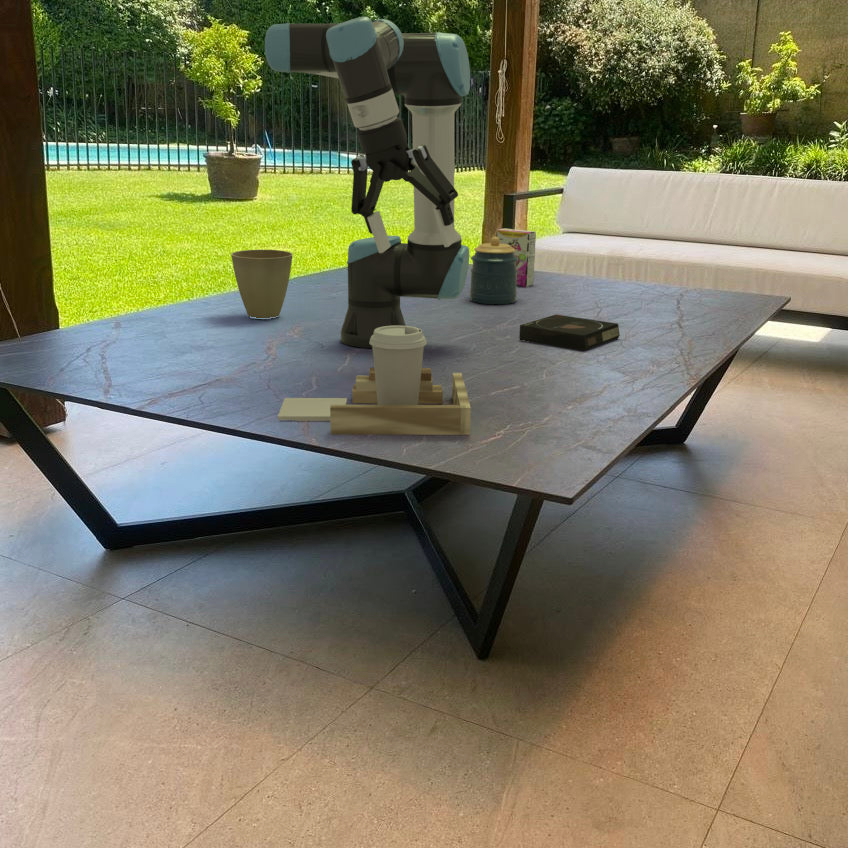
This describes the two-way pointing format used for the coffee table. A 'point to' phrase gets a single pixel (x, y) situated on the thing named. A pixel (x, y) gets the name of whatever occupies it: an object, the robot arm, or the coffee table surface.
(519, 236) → the candy bar box
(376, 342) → the coffee cup
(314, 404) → the ceramic tile
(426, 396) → the offcut stack
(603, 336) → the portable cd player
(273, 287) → the plant pot
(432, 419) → the frame
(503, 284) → the canister
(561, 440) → the coffee table surface
